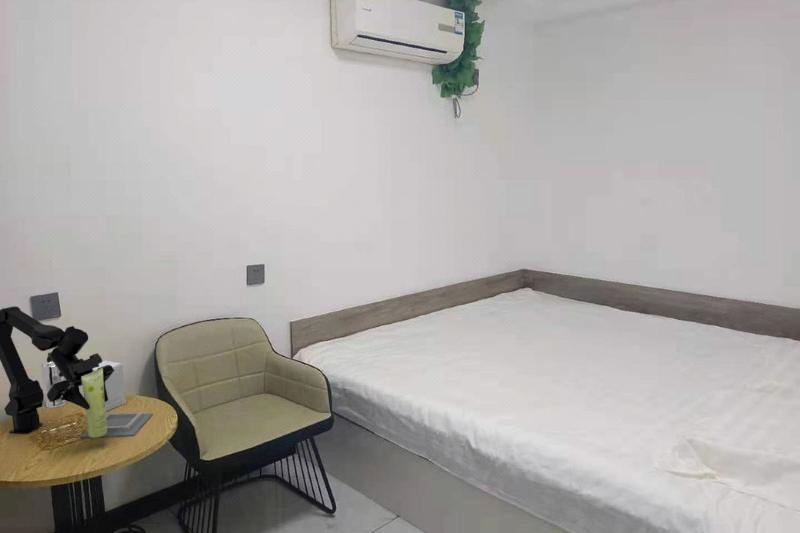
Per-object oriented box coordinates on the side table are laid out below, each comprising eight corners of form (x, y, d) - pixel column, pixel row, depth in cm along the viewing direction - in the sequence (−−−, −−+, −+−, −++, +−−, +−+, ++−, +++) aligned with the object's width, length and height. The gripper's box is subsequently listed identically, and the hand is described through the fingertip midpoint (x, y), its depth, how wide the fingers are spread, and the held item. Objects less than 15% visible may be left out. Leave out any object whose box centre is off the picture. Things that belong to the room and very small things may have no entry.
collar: (91, 433, 171) (90, 428, 171) (108, 417, 182) (107, 413, 182) (128, 431, 172) (128, 427, 172) (143, 416, 183) (142, 412, 183)
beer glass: (40, 407, 192) (35, 366, 190) (55, 400, 199) (51, 360, 196) (57, 409, 191) (53, 367, 188) (72, 401, 198) (68, 361, 195)
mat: (80, 438, 169) (80, 436, 169) (104, 416, 185) (104, 414, 184) (133, 436, 170) (133, 434, 170) (152, 414, 186) (152, 413, 186)
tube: (106, 437, 161) (101, 373, 158) (86, 440, 159) (80, 376, 156) (108, 429, 167) (102, 367, 163) (89, 432, 164) (83, 370, 161)
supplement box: (127, 403, 196) (123, 363, 193) (104, 412, 188) (100, 370, 185) (109, 399, 199) (105, 359, 197) (86, 408, 191) (82, 367, 189)
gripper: (49, 357, 152) (81, 401, 150) (107, 339, 169) (137, 378, 167) (33, 380, 156) (64, 423, 154) (91, 360, 173) (119, 399, 171)
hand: (98, 404), depth 161 cm, fingers closed on tube, 6 cm apart
